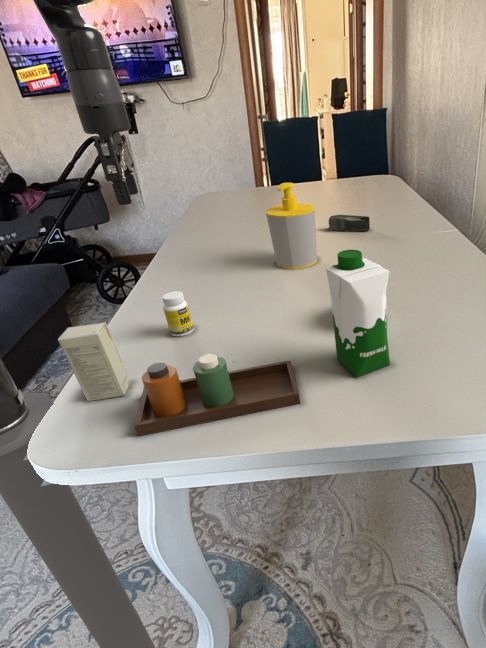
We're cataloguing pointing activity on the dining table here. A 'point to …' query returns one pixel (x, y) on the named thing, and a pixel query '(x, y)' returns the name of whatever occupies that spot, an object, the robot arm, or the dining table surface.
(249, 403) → the tray
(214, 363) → the green bottle
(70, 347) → the cosmetic box
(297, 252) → the soap bottle
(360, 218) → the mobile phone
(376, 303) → the milk carton
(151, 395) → the amber bottle
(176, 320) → the supplement bottle
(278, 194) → the dining table surface
